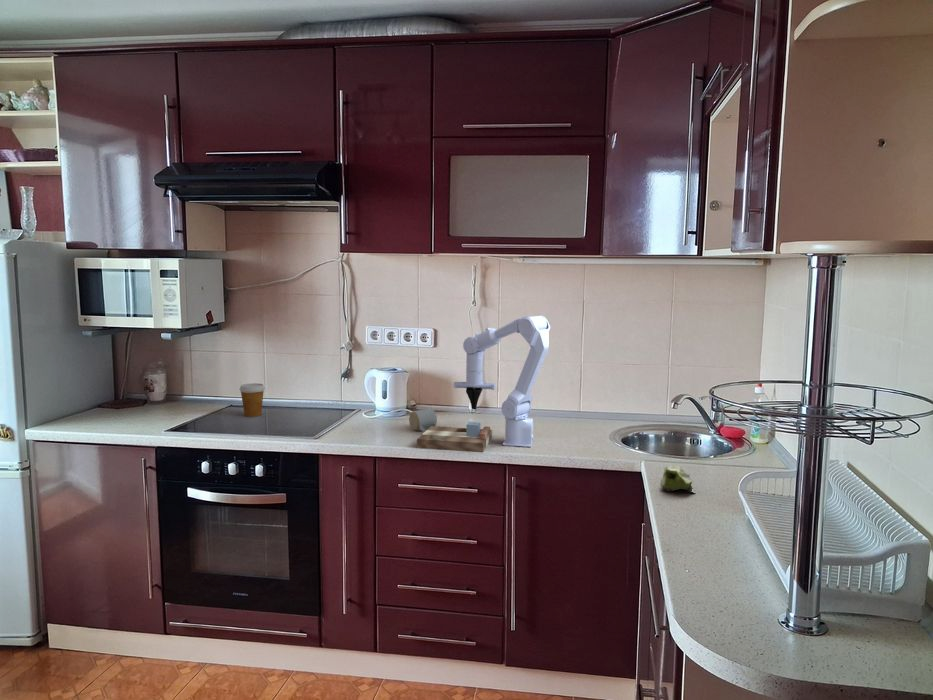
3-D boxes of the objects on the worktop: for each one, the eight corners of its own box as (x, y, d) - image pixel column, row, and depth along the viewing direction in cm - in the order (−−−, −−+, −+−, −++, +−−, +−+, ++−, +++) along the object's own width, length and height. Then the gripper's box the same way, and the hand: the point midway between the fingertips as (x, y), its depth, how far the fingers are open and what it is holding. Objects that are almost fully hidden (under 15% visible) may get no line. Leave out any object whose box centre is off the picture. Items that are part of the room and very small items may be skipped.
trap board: (491, 438, 230) (492, 424, 229) (483, 452, 212) (483, 436, 212) (430, 434, 234) (430, 420, 233) (417, 447, 216) (417, 432, 216)
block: (480, 434, 223) (480, 422, 223) (478, 437, 219) (478, 425, 219) (468, 433, 224) (468, 421, 223) (466, 436, 220) (466, 424, 219)
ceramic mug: (407, 428, 242) (407, 408, 241) (426, 425, 246) (427, 405, 245) (422, 435, 233) (422, 414, 232) (442, 432, 238) (442, 411, 236)
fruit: (674, 502, 172) (669, 473, 171) (654, 493, 181) (649, 465, 180) (704, 492, 175) (699, 463, 174) (683, 484, 184) (678, 457, 183)
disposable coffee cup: (261, 411, 268) (260, 382, 266) (268, 415, 260) (267, 386, 258) (237, 414, 262) (236, 384, 261) (244, 418, 255) (243, 388, 253)
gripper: (496, 369, 234) (496, 407, 235) (456, 368, 236) (456, 405, 238) (493, 373, 227) (492, 411, 228) (452, 371, 229) (452, 409, 231)
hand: (474, 408), depth 233 cm, fingers closed
